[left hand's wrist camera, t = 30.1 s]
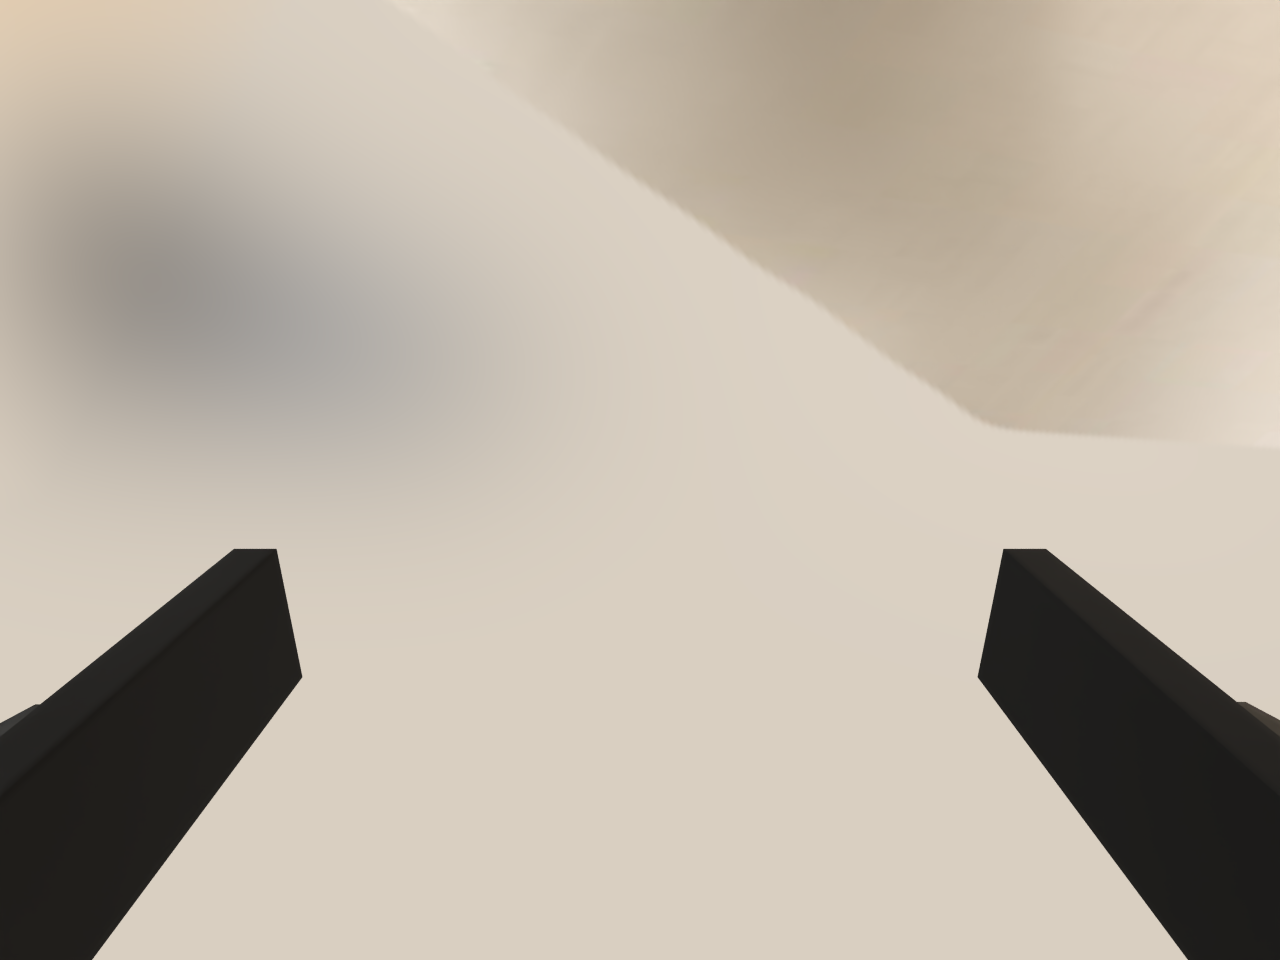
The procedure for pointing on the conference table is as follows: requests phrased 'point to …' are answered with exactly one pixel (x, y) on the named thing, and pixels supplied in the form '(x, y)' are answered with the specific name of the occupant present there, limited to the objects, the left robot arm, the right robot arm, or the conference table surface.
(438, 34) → the conference table surface
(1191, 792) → the left robot arm
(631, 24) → the conference table surface
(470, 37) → the conference table surface
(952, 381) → the conference table surface
